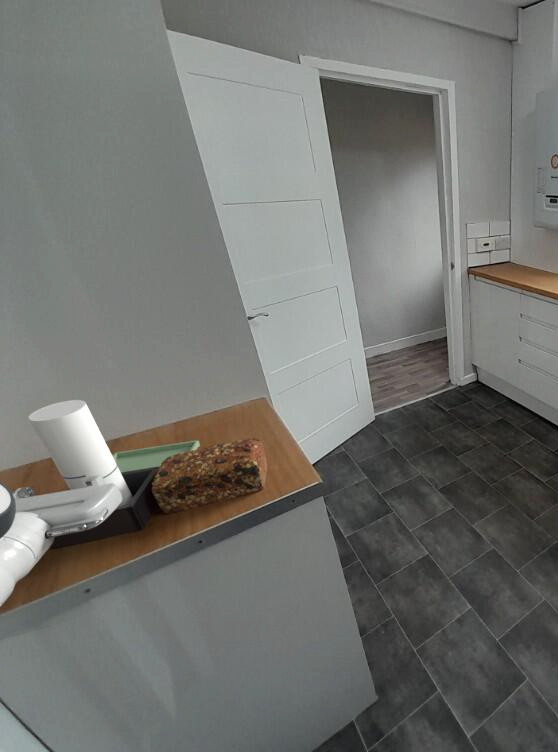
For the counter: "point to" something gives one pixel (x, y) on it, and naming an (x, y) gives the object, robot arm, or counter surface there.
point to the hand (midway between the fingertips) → (63, 484)
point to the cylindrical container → (77, 445)
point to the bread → (210, 475)
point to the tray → (150, 455)
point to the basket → (121, 512)
